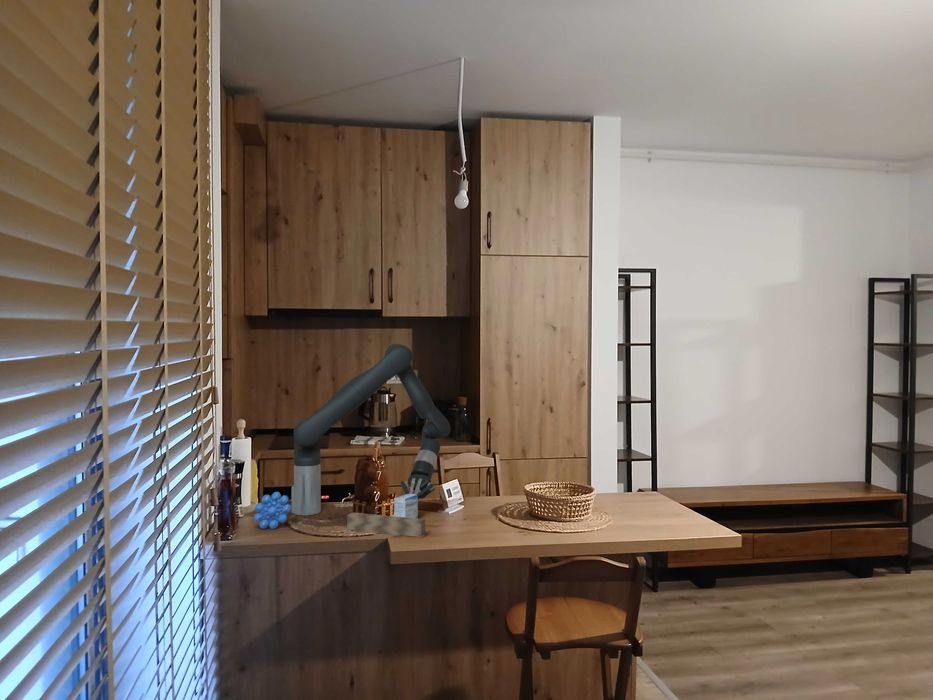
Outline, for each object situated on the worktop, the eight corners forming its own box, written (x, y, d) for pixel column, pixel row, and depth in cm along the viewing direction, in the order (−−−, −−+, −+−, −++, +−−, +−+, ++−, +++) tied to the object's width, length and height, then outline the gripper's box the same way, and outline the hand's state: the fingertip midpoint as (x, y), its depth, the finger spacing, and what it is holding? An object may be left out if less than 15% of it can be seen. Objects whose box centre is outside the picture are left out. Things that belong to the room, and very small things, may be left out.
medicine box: (405, 525, 215) (404, 499, 215) (393, 523, 217) (393, 497, 217) (418, 519, 222) (417, 494, 222) (407, 518, 224) (406, 493, 224)
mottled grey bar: (347, 530, 210) (347, 514, 210) (351, 527, 213) (351, 512, 213) (421, 537, 201) (421, 521, 201) (425, 535, 204) (425, 519, 204)
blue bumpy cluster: (292, 524, 217) (292, 488, 217) (290, 530, 210) (290, 492, 210) (255, 526, 215) (255, 489, 215) (252, 532, 208) (252, 494, 208)
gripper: (404, 458, 235) (389, 500, 224) (438, 460, 231) (424, 503, 219) (410, 470, 240) (396, 511, 229) (444, 472, 236) (431, 515, 224)
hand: (410, 507), depth 224 cm, fingers closed
